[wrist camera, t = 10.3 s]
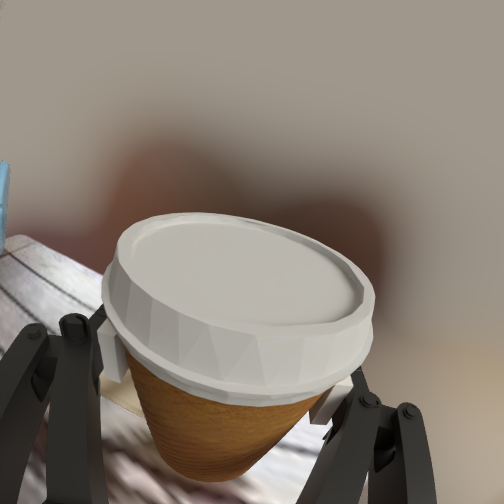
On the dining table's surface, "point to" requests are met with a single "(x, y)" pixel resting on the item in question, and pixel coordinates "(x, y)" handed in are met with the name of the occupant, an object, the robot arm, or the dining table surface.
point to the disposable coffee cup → (232, 333)
